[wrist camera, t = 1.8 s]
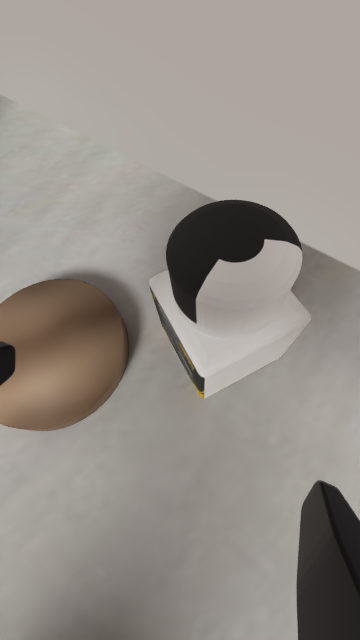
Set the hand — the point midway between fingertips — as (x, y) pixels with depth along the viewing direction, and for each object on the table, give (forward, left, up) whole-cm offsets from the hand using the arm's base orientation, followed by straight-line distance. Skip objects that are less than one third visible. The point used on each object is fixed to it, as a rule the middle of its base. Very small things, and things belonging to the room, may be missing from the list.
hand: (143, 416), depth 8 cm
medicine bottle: (+5, -6, -14) cm, 16 cm away
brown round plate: (+11, +6, -13) cm, 18 cm away
